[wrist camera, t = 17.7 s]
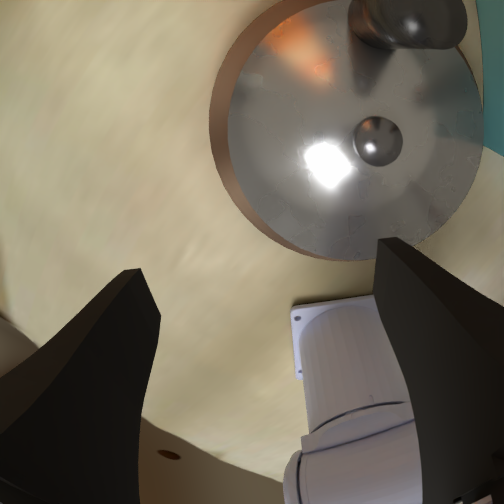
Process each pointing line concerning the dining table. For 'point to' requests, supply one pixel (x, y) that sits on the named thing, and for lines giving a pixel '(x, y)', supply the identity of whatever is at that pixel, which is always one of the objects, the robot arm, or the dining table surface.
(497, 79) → the tray
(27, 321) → the dining table surface
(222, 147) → the crank base
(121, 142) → the dining table surface
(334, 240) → the crank
